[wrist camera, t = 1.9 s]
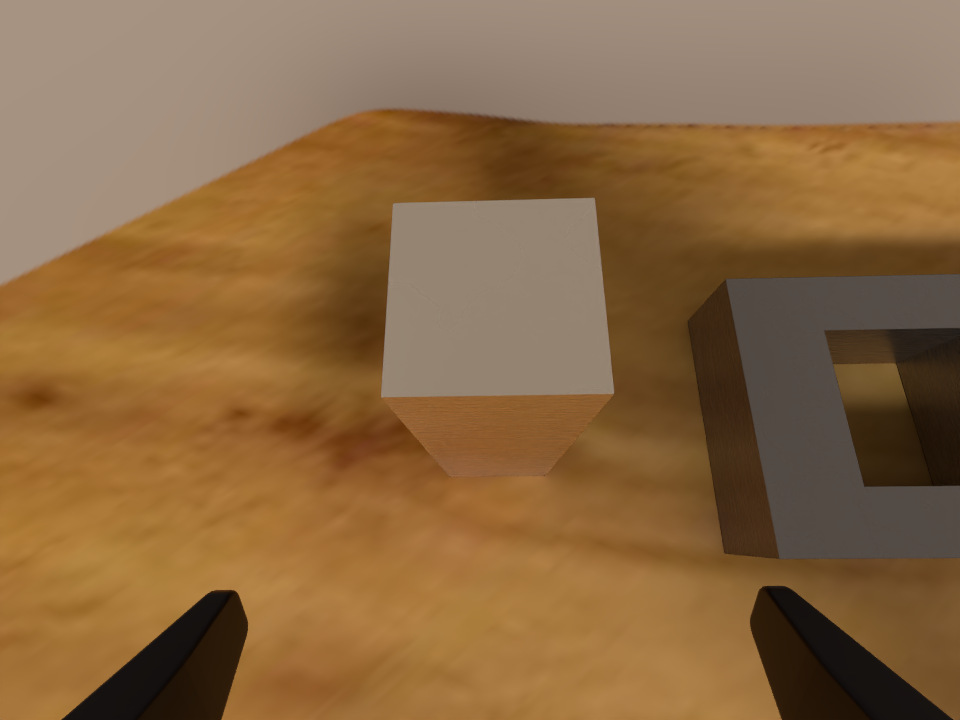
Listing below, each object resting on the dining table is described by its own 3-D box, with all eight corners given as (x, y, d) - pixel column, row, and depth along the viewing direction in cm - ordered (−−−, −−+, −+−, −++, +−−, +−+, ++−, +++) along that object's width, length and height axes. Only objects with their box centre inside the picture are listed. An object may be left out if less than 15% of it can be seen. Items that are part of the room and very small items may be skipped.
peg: (540, 384, 22) (595, 197, 10) (545, 475, 21) (614, 393, 8) (451, 385, 22) (393, 202, 10) (449, 476, 21) (380, 397, 8)
